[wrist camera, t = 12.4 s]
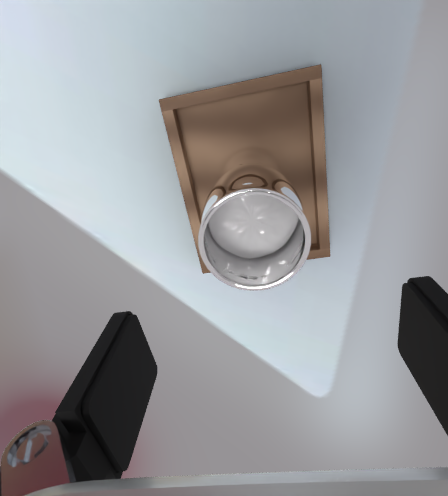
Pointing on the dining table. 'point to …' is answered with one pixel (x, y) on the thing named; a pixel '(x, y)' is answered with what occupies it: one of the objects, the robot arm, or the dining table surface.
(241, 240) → the beer glass
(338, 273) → the dining table surface
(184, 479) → the robot arm
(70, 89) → the dining table surface
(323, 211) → the walnut tray
